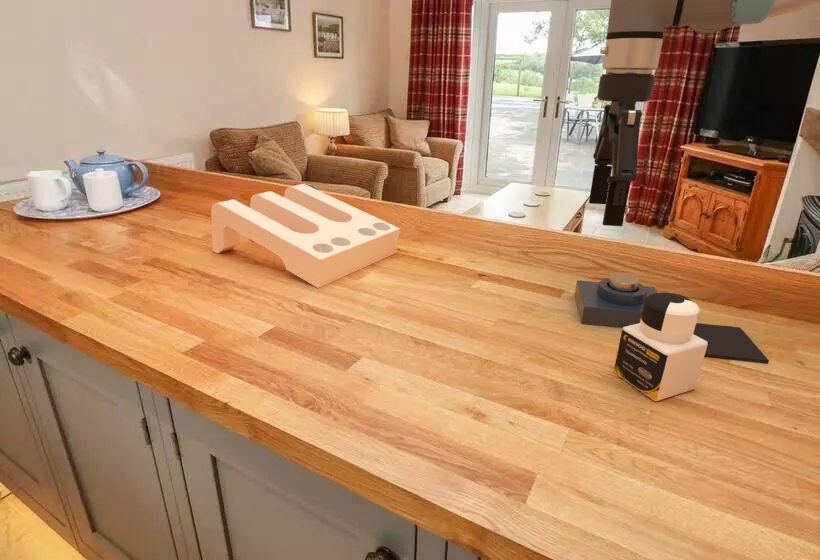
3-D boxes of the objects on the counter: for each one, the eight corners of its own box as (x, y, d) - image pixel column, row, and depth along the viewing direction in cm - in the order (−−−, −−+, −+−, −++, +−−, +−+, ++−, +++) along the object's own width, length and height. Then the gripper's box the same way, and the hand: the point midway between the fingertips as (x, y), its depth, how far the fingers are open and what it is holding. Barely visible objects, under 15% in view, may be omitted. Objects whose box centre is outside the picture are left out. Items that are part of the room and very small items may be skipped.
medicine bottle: (612, 372, 66) (628, 292, 62) (650, 361, 69) (669, 283, 64) (655, 403, 60) (677, 316, 56) (695, 390, 63) (720, 306, 58)
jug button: (633, 284, 83) (635, 274, 82) (639, 295, 79) (641, 285, 78) (606, 282, 83) (608, 272, 83) (610, 292, 79) (612, 282, 79)
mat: (739, 330, 78) (740, 327, 78) (768, 364, 69) (769, 360, 69) (671, 323, 80) (672, 320, 79) (691, 355, 71) (692, 352, 70)
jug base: (650, 303, 87) (656, 277, 85) (667, 333, 77) (674, 304, 75) (574, 296, 89) (578, 270, 87) (581, 324, 79) (585, 296, 77)
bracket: (320, 259, 88) (210, 199, 102) (315, 314, 94) (212, 250, 108) (400, 228, 106) (297, 180, 120) (391, 276, 112) (294, 225, 126)
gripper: (588, 72, 84) (571, 195, 92) (618, 71, 61) (592, 234, 69) (635, 72, 82) (613, 197, 91) (683, 72, 60) (648, 238, 68)
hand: (604, 213), depth 80 cm, fingers open, 13 cm apart
